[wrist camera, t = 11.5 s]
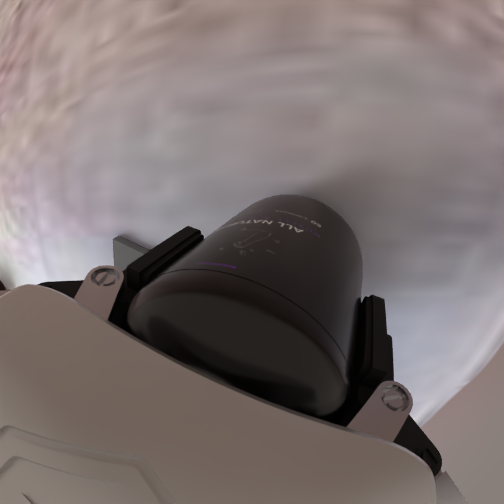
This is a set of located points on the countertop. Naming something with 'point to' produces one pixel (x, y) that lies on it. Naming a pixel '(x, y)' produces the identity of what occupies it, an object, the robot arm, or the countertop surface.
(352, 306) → the supplement bottle
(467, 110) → the countertop surface
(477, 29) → the countertop surface
